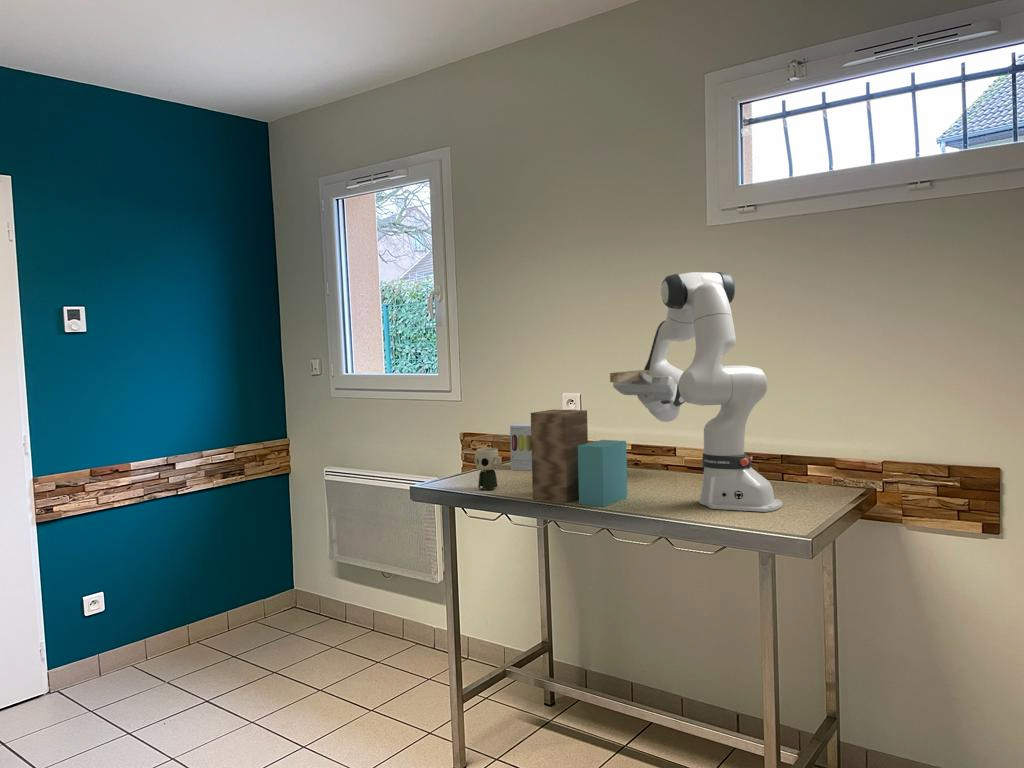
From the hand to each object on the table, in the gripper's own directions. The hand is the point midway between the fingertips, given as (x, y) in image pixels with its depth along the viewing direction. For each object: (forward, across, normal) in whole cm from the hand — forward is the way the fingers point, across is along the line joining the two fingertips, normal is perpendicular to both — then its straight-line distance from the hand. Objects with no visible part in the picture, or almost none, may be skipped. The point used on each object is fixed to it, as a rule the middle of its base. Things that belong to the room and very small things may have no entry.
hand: (635, 374), depth 245 cm
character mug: (+2, -42, +43) cm, 60 cm away
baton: (+2, 0, +3) cm, 4 cm away
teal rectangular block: (+2, 0, +43) cm, 43 cm away
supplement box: (-34, -55, +23) cm, 68 cm away
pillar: (+2, -14, +43) cm, 45 cm away
